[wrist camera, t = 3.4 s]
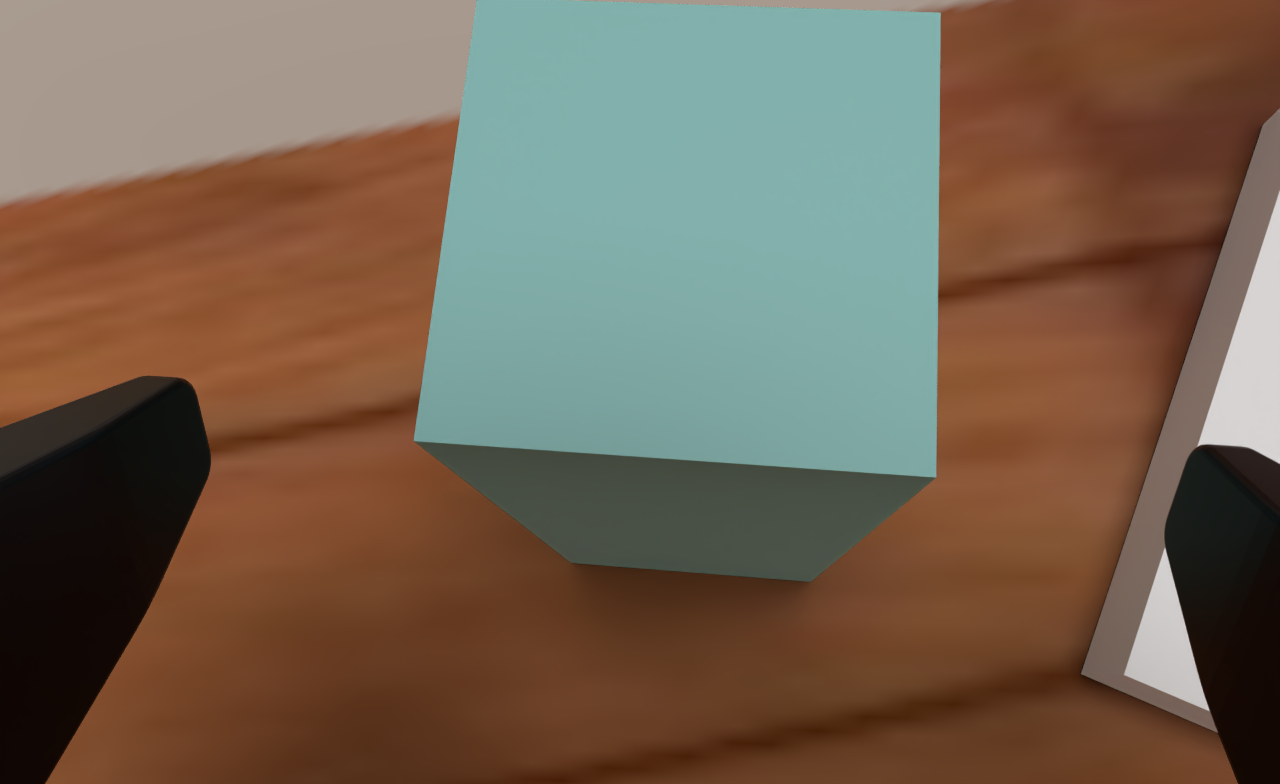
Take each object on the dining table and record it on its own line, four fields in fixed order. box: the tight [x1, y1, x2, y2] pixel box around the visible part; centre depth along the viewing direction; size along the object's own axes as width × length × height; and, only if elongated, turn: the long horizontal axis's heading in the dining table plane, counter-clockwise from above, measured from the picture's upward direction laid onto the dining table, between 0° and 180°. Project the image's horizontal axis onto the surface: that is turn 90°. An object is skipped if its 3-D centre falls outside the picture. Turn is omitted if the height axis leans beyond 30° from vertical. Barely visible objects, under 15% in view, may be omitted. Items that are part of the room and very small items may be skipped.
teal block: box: [414, 0, 941, 582], centre depth 15 cm, size 5×5×11 cm
